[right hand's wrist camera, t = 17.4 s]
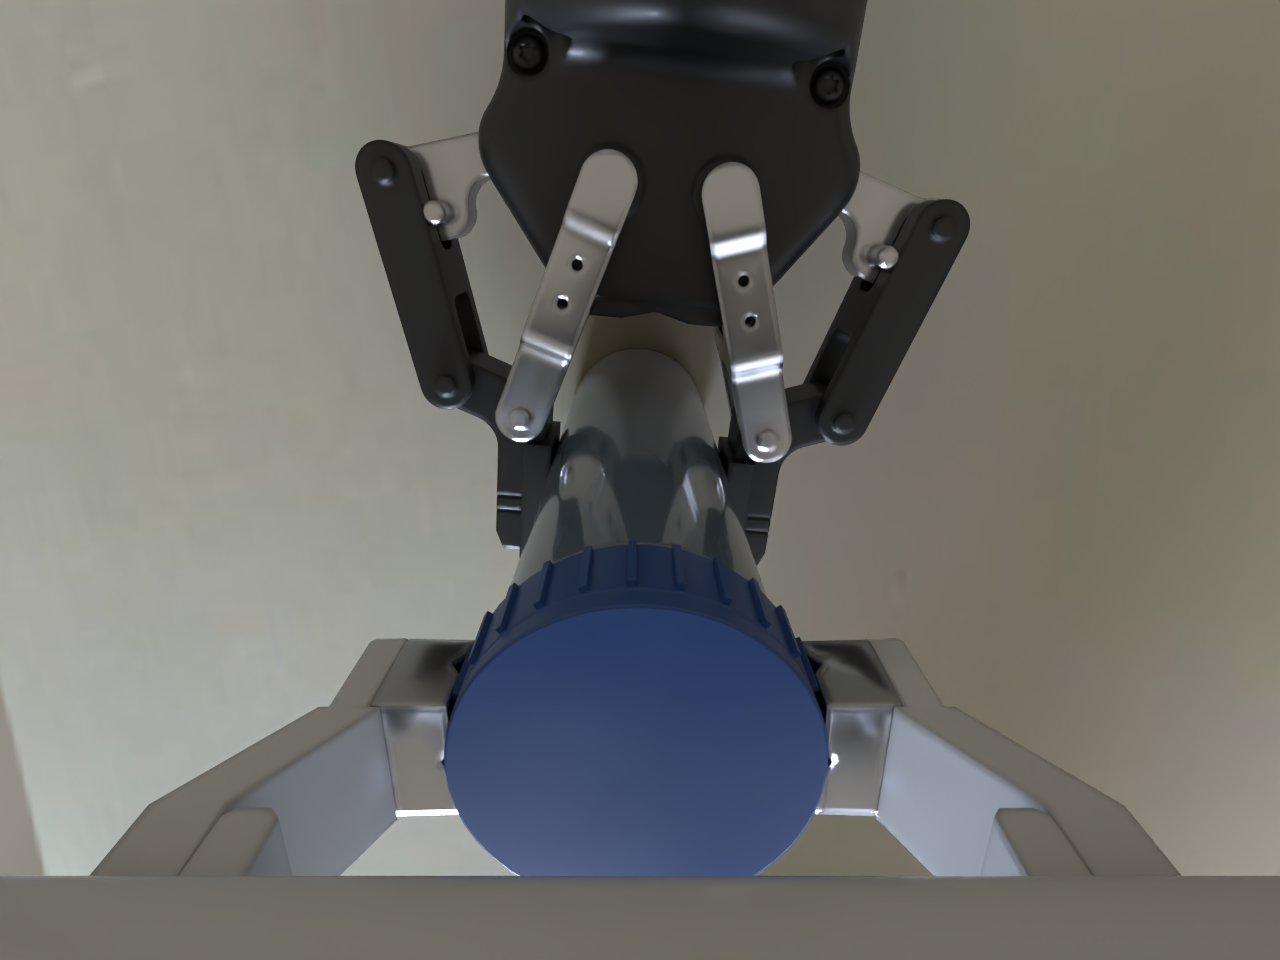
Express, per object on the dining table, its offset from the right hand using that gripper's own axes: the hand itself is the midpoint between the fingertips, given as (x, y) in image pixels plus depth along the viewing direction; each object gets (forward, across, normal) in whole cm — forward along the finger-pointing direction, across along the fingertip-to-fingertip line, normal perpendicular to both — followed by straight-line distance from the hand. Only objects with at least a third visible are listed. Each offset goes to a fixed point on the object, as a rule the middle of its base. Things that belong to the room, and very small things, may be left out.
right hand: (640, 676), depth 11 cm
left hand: (+9, 0, -3) cm, 9 cm away
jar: (+15, 0, 0) cm, 15 cm away
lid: (-2, 0, 0) cm, 2 cm away
